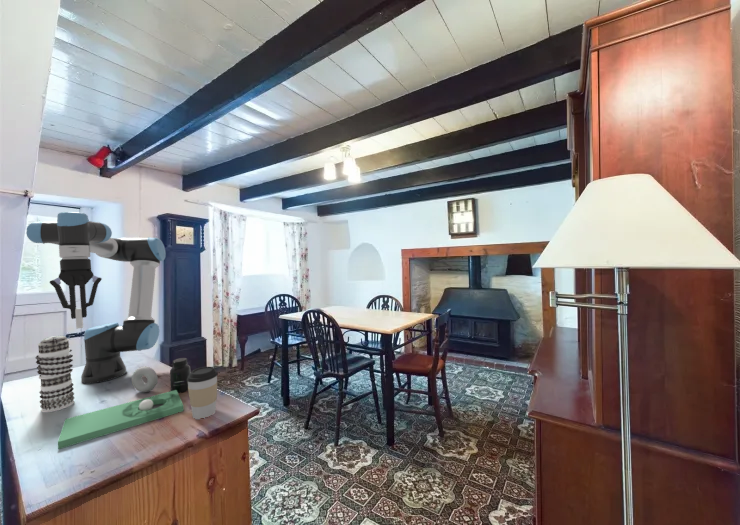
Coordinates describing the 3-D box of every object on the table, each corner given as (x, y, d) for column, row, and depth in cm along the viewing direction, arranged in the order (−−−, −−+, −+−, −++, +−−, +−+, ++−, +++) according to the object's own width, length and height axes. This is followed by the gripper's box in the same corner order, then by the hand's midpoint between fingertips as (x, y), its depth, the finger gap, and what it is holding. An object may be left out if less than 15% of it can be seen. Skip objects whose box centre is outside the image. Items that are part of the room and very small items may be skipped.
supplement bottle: (176, 395, 116) (174, 364, 115) (167, 391, 119) (165, 361, 119) (194, 388, 121) (193, 358, 121) (185, 384, 125) (184, 355, 125)
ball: (135, 408, 103) (143, 396, 105) (148, 410, 106) (155, 399, 107) (136, 412, 100) (143, 400, 101) (149, 415, 102) (156, 403, 104)
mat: (66, 425, 97) (65, 419, 97) (176, 394, 116) (176, 389, 116) (58, 449, 85) (57, 442, 84) (183, 410, 104) (183, 405, 103)
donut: (160, 390, 121) (159, 365, 120) (153, 394, 117) (152, 368, 117) (137, 389, 122) (136, 365, 121) (129, 393, 118) (128, 368, 118)
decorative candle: (39, 407, 110) (34, 338, 109) (74, 397, 116) (70, 332, 116) (38, 416, 103) (33, 342, 102) (76, 405, 110) (72, 336, 109)
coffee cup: (187, 424, 95) (185, 376, 95) (189, 411, 103) (187, 367, 103) (219, 416, 99) (217, 370, 99) (219, 404, 107) (217, 362, 107)
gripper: (45, 259, 96) (50, 333, 97) (100, 257, 104) (104, 326, 105) (49, 259, 102) (54, 329, 103) (101, 257, 110) (105, 322, 111)
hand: (79, 327), depth 104 cm, fingers closed
